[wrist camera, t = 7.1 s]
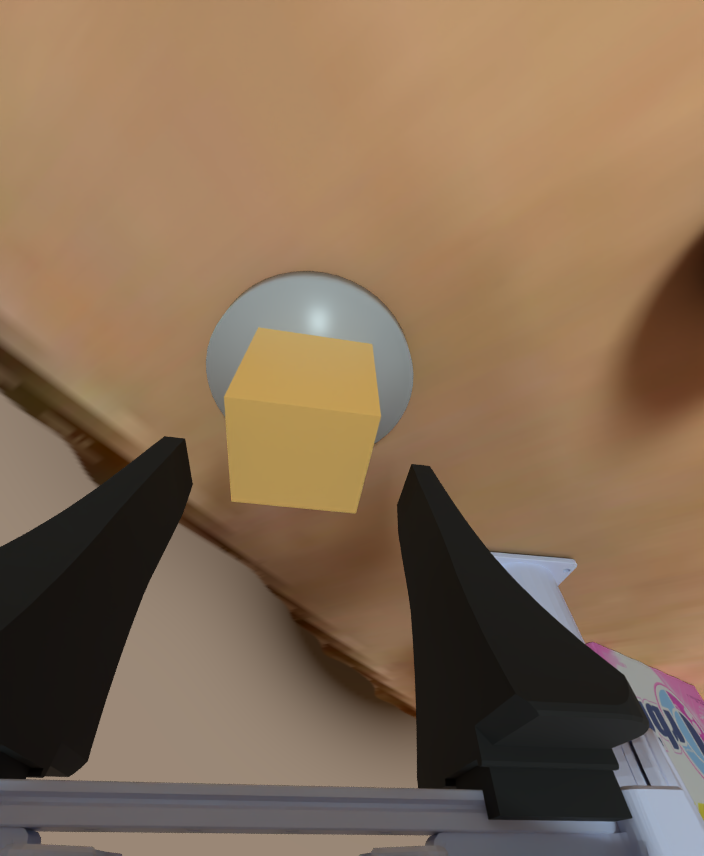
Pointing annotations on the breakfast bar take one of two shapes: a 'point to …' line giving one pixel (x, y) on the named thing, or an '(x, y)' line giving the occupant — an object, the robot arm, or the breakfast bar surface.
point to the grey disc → (315, 332)
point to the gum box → (668, 716)
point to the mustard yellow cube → (301, 421)
